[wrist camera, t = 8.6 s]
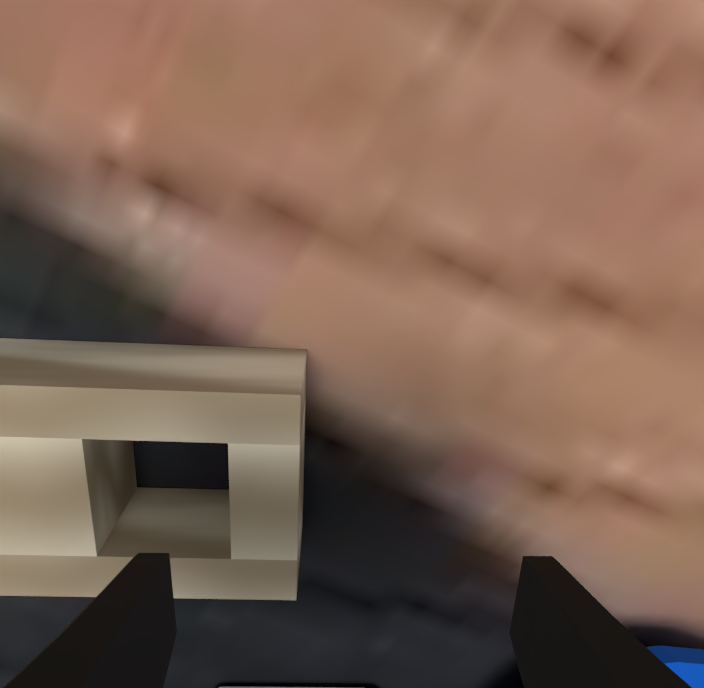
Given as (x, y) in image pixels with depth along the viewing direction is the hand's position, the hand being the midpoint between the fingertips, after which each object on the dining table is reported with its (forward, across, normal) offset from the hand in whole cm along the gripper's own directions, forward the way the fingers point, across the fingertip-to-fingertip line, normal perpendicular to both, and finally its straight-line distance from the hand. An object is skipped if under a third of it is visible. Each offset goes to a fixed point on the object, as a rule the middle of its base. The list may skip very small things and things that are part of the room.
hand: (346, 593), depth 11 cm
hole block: (+10, +10, +2) cm, 15 cm away
